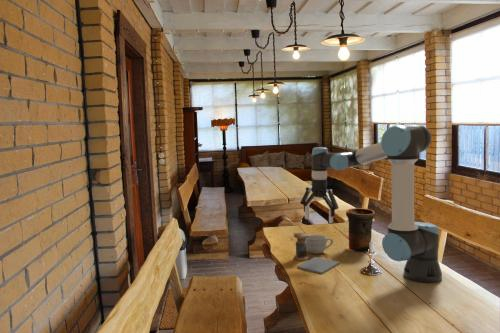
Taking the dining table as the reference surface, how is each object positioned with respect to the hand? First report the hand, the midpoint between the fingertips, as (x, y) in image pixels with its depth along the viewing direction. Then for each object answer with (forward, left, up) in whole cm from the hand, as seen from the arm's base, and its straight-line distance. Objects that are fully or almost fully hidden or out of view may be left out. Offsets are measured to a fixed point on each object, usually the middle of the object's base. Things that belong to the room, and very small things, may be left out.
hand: (318, 220), depth 213 cm
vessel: (-13, -19, -17) cm, 29 cm away
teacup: (+1, -1, -17) cm, 17 cm away
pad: (-9, +16, -17) cm, 25 cm away
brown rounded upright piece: (+3, +12, -17) cm, 21 cm away
